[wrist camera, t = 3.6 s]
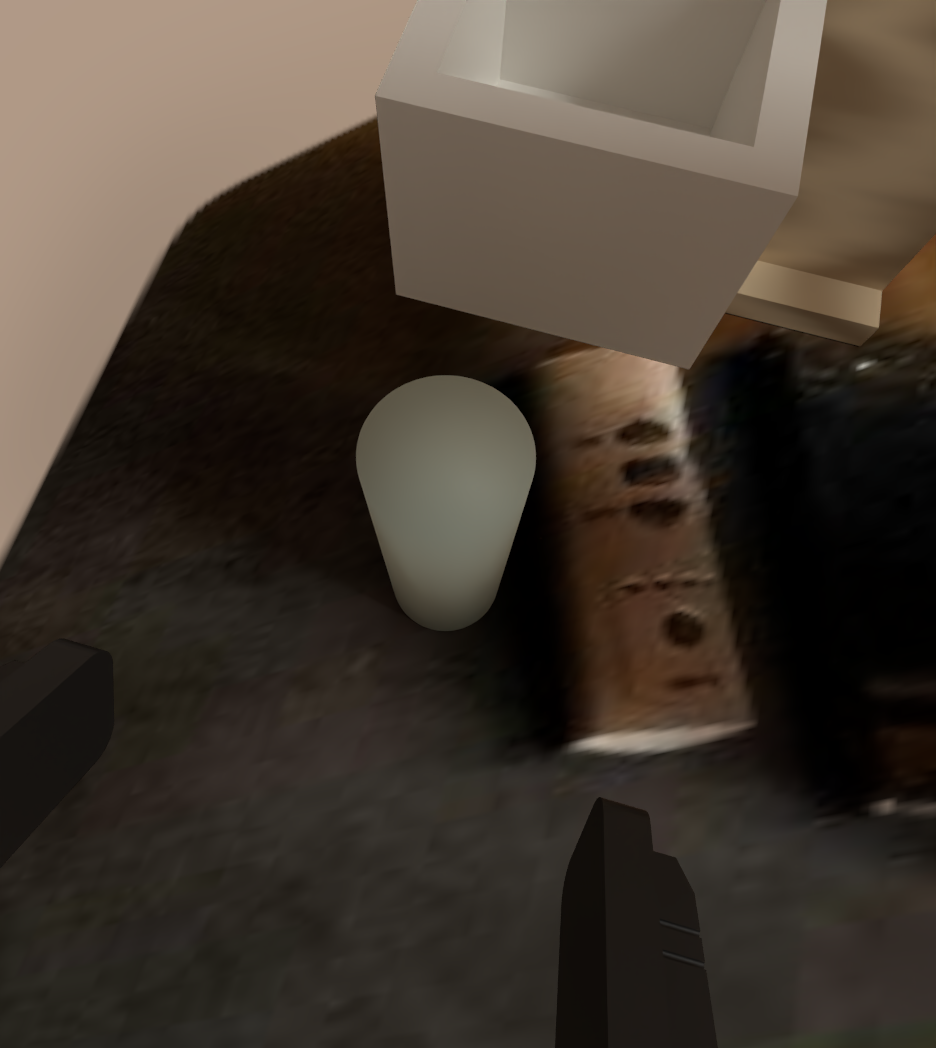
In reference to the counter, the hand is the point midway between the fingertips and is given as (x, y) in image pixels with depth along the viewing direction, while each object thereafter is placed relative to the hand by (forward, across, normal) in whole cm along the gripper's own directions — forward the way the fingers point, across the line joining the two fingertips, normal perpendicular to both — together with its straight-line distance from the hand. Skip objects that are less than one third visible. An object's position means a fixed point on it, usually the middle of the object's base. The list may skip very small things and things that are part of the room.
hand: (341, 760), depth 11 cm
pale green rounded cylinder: (+12, 0, +3) cm, 12 cm away
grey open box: (+15, -1, -8) cm, 18 cm away
